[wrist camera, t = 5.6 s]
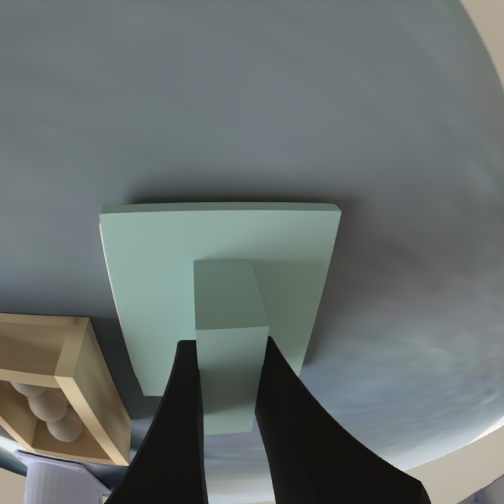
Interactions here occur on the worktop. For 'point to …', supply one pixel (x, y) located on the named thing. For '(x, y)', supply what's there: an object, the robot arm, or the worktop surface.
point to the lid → (218, 291)
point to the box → (60, 390)
